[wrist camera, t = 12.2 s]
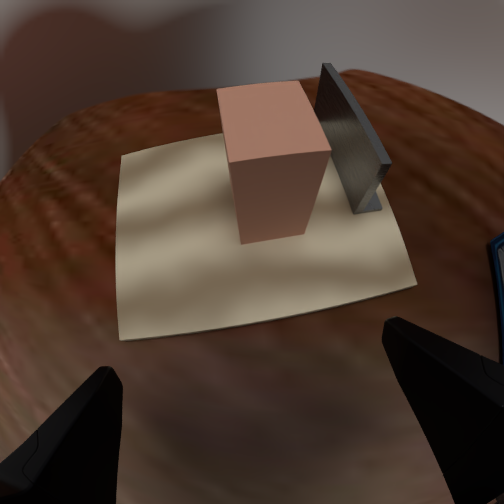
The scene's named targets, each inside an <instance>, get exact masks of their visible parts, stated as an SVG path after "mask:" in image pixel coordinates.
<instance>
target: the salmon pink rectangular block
mask: <svg viewBox="0 0 504 504" xmlns="http://www.w3.org/2000/svg"><path fill="white" fill-rule="evenodd" d="M217 95H218V102H219V109H220V116H221V123H222V130H223V137H224V143H225V150H226V157H227V163H228V170H229V177H230V183H231V189H232V195H233V201H234V207H235V212H236V218H237V224H238V230H239V236H240V241H241V245H243V244H249V243H255V242H261V241H267V240H273V239H279V238H285V237H291V236H297V235H303V234H305V231H306V228H307V225H308V222H309V219H310V216H311V213H312V210H313V207H314V204H315V201H316V198H317V195H318V192H319V189H320V186H321V183H322V180H323V177H324V173H325V170H326V167H327V164H328V161H329V157H330V154H331V151H332V149H331V147H330V145H329V143H328V140H327V138H326V136H325V134H324V132H323V129H322V127H321V125H320V123H319V121H318V119H317V117H316V115H315V112H314V110H313V108H312V106H311V104H310V102H309V100H308V98H307V96H306V94H305V93H304V91H303V89H302V87H301V85H300V83H299V81H286V82H272V83H261V84H251V85H242V86H235V87H228V88H221V89H217Z"/></svg>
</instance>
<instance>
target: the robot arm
mask: <svg viewBox="0 0 504 504" xmlns="http://www.w3.org/2000/svg"><path fill="white" fill-rule="evenodd" d="M382 344H383V346H384V349H385V351H386V354H387V356H388V358H389V361H390V363H391V366H392V368H393V371H394V374H395V376H396V378H397V381H398V383H399V385H400V387H401V388H402V390H403V392H404V394H405V396H406V398H407V400H408V402H409V404H410V406H411V408H412V410H413V412H414V414H415V416H416V418H417V420H418V422H419V424H420V426H421V428H422V430H423V432H424V434H425V436H426V438H427V440H428V442H429V445H430V447H431V449H432V451H433V453H434V455H435V458H436V460H437V462H438V464H439V466H440V469H441V471H442V473H443V476H444V478H445V481H446V483H447V485H448V488H449V490H450V493H451V495H452V498H453V500H454V503H455V504H487V503H488V502H490V501H492V500H493V499H495V498H496V500H497V502H496V503H494V504H504V365H502V364H499V363H497V362H495V361H493V360H490V359H488V358H486V357H484V356H482V355H481V356H480V355H479V354H477V353H475V352H473V351H471V350H469V349H467V348H464V347H462V346H460V345H458V344H456V343H454V342H451V341H449V340H447V339H445V338H443V337H441V336H439V335H436V334H434V333H432V332H430V331H428V330H426V329H424V328H421V327H419V326H417V325H415V324H413V323H411V322H408V321H406V320H404V319H402V318H400V317H397V316H395V317H391V318H388V319H386V320H385V322H384V328H383V334H382ZM122 400H123V385H122V382H121V381H120V379H119V377H118V376H117V374H116V373H115V371H114V369H113V368H112V367H110V366H102V367H99V368H98V369H97V370H96V371H95V372H94V373H93V374H92V375H91V376H90V377H89V378H88V379H87V380H86V381H85V382H84V383H83V384H82V385H81V386H80V387H79V388H78V389H77V390H76V391H75V392H74V393H73V394H72V395H71V396H70V397H69V398H68V399H67V400H66V401H65V402H64V403H63V404H62V405H61V406H60V407H59V408H58V409H57V410H56V411H55V412H54V413H53V414H52V415H51V416H50V417H49V418H48V419H47V420H46V421H45V422H44V423H43V424H42V425H41V426H40V427H39V428H38V430H36V431H35V432H34V433H33V434H32V435H31V436H30V437H29V438H28V439H27V440H26V441H25V442H24V443H23V444H22V445H21V446H19V447H18V448H17V449H16V450H15V451H14V452H13V453H11V454H10V455H9V456H8V457H7V458H6V459H4V460H3V461H2V462H1V463H0V504H116V490H117V473H118V460H119V449H120V439H121V430H122Z"/></svg>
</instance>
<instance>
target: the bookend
mask: <svg viewBox="0 0 504 504" xmlns="http://www.w3.org/2000/svg"><path fill="white" fill-rule="evenodd" d="M314 112H315V115H316V117H317V119H318V121H319V123H320V125H321V127H322V129H323V132H324V134H325V136H326V138H327V140H328V143H329V145H330V147H331V149H332V151H331V154H330V156H331V158H332V161H333V163H334V165H335V168H336V170H337V173H338V175H339V178H340V180H341V183H342V185H343V188H344V191H345V193H346V196H347V199H348V201H349V204H350V207H351V210H352V213H353V215H354V214H361V213H368V212H375V211H381V210H382V209H383V208H382V205H381V203H380V200H379V198H378V195H377V193H376V190H377V188H378V186H379V185H380V183H381V181H382V180H383V178H384V176H385V175H386V173H387V171H388V170H389V168H390V166H391V164H392V162H391V160H390V158H389V156H388V154H387V152H386V151H385V149H384V147H383V145H382V143H381V141H380V139H379V138H378V136H377V134H376V132H375V130H374V129H373V127H372V125H371V124H370V122H369V120H368V118H367V117H366V115H365V114H364V112H363V110H362V109H361V107H360V105H359V104H358V102H357V101H356V99H355V98H354V96H353V94H352V93H351V91H350V90H349V88H348V87H347V85H346V84H345V83H344V81H343V80H342V78H341V77H340V75H339V74H338V73H337V71H336V70H335V68H334V67H333V66H332V64H331V63H323V64H322V69H321V75H320V80H319V86H318V92H317V97H316V103H315V108H314Z"/></svg>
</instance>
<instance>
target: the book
mask: <svg viewBox="0 0 504 504" xmlns="http://www.w3.org/2000/svg"><path fill="white" fill-rule="evenodd" d="M490 243H491V249H492V254H493V260H494V266H495V272H496V279H497V288H498V297H499V308H500V317H501V329H502V348H503V365H504V232H503V233H501V234H500V235H498V236H497V237H495V238H494V239H492V240H491V242H490Z"/></svg>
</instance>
